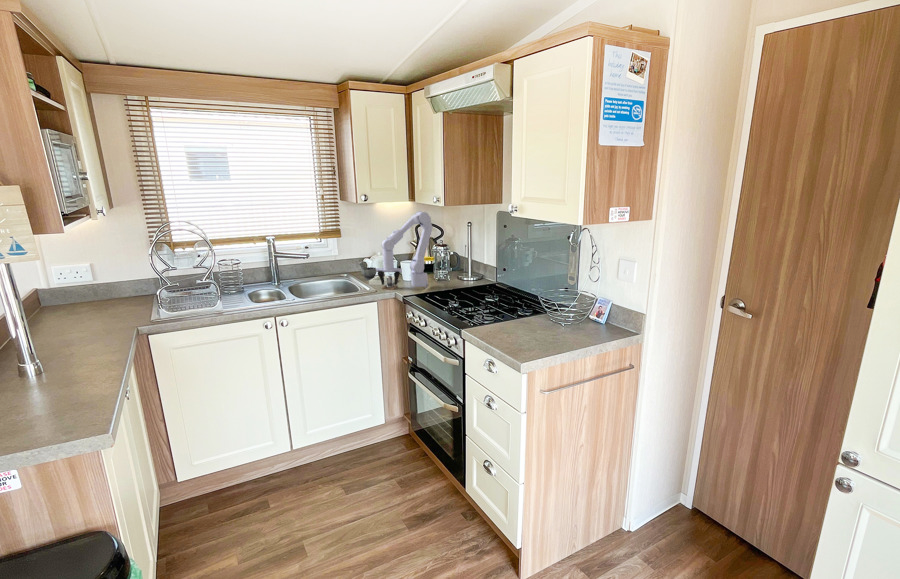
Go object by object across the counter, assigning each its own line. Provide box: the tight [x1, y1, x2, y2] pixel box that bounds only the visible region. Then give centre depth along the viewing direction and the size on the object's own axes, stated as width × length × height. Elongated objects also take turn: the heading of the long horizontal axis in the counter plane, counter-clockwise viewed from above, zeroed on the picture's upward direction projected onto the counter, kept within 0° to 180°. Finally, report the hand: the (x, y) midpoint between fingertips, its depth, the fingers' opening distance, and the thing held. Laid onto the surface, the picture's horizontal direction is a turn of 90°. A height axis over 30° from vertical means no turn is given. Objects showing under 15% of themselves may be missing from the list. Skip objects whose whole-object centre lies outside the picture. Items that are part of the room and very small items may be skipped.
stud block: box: [381, 284, 398, 291], centre depth 253 cm, size 10×10×2 cm
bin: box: [368, 275, 395, 286], centre depth 268 cm, size 13×13×4 cm
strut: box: [386, 275, 394, 288], centre depth 252 cm, size 4×4×7 cm
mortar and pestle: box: [358, 260, 378, 281], centre depth 282 cm, size 11×9×12 cm
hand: (389, 284), depth 252 cm, fingers open, 7 cm apart
